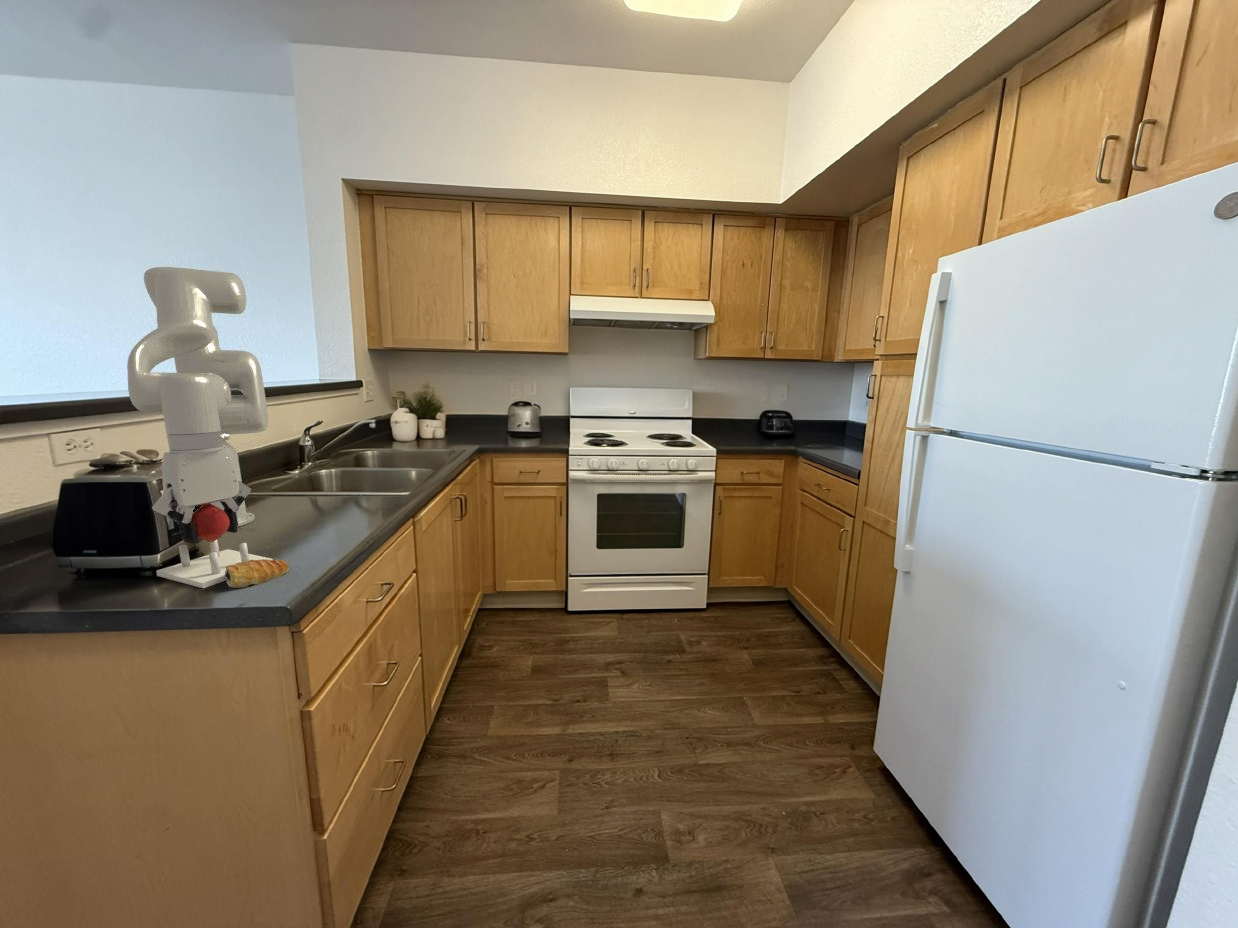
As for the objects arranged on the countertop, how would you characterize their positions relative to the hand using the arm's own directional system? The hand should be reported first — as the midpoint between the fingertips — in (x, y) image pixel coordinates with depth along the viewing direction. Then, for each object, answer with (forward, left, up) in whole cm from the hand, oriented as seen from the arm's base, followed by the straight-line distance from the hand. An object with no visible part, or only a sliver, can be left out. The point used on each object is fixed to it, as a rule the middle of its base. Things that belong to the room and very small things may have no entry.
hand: (211, 535), depth 92 cm
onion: (0, 0, -1) cm, 1 cm away
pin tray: (0, 0, -7) cm, 7 cm away
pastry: (+11, 0, -7) cm, 13 cm away
